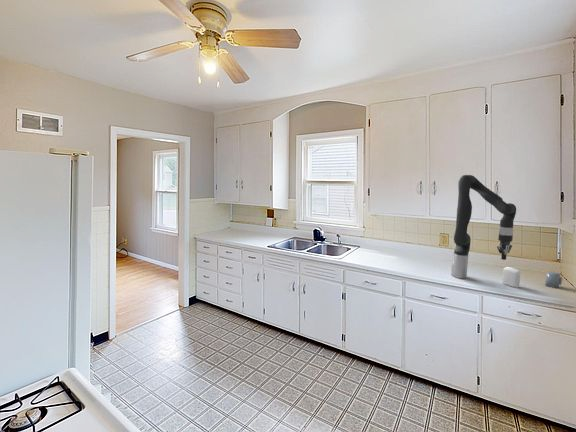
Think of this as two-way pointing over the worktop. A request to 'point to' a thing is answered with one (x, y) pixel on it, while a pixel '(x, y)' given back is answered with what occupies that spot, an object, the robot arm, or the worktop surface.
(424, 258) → the worktop surface
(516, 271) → the photo printer
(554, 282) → the grey rounded cylinder
